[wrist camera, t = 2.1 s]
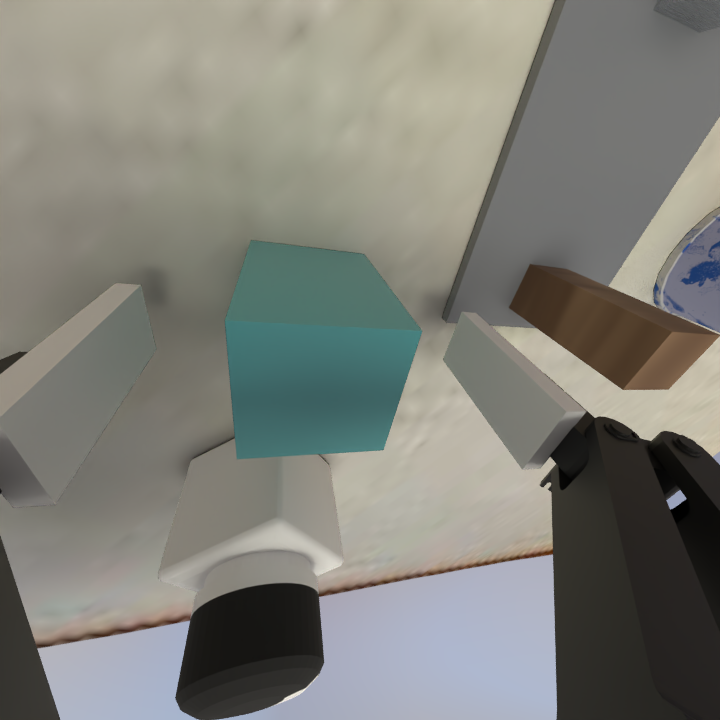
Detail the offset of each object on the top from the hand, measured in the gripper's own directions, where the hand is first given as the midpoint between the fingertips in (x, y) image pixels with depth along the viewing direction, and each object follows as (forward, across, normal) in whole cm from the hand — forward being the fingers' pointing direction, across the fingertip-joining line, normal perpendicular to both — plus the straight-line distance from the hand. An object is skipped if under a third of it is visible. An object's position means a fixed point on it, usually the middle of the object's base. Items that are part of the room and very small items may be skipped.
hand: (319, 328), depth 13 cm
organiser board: (+3, +13, +8) cm, 15 cm away
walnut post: (+3, +13, +2) cm, 13 cm away
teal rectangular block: (+3, 0, 0) cm, 3 cm away
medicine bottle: (+3, -2, -13) cm, 14 cm away
